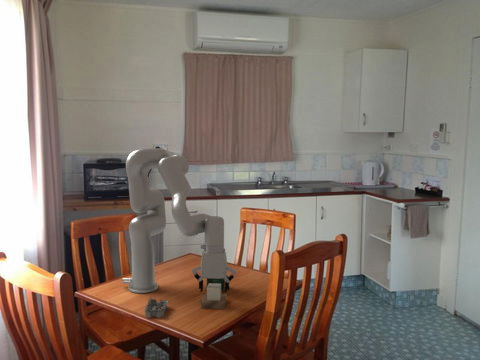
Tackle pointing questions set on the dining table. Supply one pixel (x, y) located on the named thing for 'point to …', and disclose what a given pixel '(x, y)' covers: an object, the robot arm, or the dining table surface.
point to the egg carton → (155, 308)
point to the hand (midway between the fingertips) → (214, 291)
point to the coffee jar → (217, 282)
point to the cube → (214, 292)
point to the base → (213, 302)
